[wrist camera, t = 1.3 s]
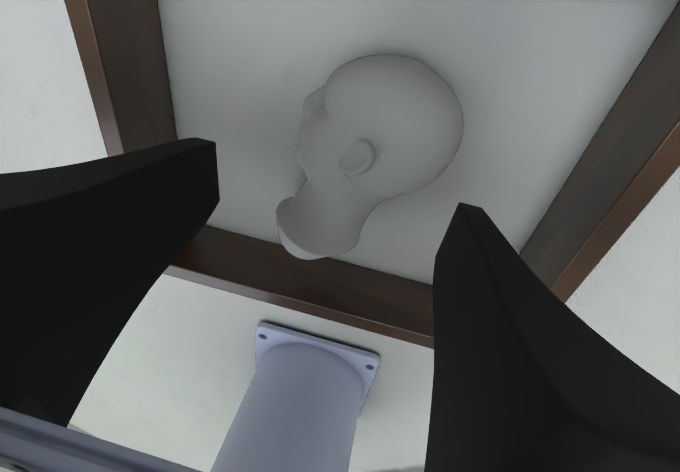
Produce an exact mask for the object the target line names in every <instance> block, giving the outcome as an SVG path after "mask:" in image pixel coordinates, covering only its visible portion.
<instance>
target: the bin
mask: <svg viewBox="0 0 680 472" xmlns="http://www.w3.org/2000/svg"><path fill="white" fill-rule="evenodd" d="M64 1H65V5H66V8H67V12H68V15H69V19H70V23H71V26H72V30H73V33H74V37H75V40H76V44H77V48H78V51H79V55H80V58H81V62H82V65H83V69H84V72H85V76H86V80H87V83H88V87H89V90H90V94H91V97H92V101H93V104H94V108H95V112H96V115H97V119H98V122H99V126H100V129H101V133H102V136H103V140H104V144H105V147H106V151H107V154H108V157H111V156H115V155H120V154H124V153H128V152H132V151H136V150H140V149H144V148H148V147H152V146H156V145H160V144H164V143H168V142H172V141H177V139H176V132H175V125H174V118H173V111H172V105H171V98H170V91H169V84H168V77H167V70H166V63H165V56H164V49H163V42H162V35H161V28H160V21H159V14H158V7H157V1H156V0H64ZM679 166H680V2H679V4H678V6H677V7H676V9H675V10H674V12H673V13H672V15H671V17H670V18H669V20H668V21H667V23H666V25H665V26H664V28H663V29H662V31H661V32H660V34H659V36H658V37H657V39H656V40H655V42H654V44H653V45H652V47H651V48H650V50H649V51H648V53H647V55H646V56H645V58H644V59H643V61H642V62H641V64H640V66H639V67H638V69H637V70H636V72H635V74H634V75H633V77H632V78H631V80H630V81H629V83H628V85H627V86H626V88H625V89H624V91H623V93H622V94H621V96H620V97H619V99H618V100H617V102H616V104H615V105H614V107H613V108H612V110H611V111H610V113H609V115H608V116H607V118H606V119H605V121H604V123H603V124H602V126H601V127H600V129H599V130H598V132H597V134H596V135H595V137H594V138H593V140H592V142H591V143H590V145H589V146H588V148H587V149H586V151H585V153H584V154H583V156H582V157H581V159H580V160H579V162H578V164H577V165H576V167H575V168H574V170H573V172H572V173H571V175H570V176H569V178H568V179H567V181H566V183H565V184H564V186H563V187H562V189H561V191H560V192H559V194H558V195H557V197H556V198H555V200H554V202H553V203H552V205H551V206H550V208H549V209H548V211H547V213H546V214H545V216H544V217H543V219H542V221H541V222H540V224H539V225H538V227H537V228H536V230H535V232H534V233H533V235H532V236H531V238H530V240H529V241H528V243H527V244H526V246H525V247H524V249H523V251H522V252H521V254H520V255H519V256H520V257H521V258H522V260H523V261H524V262H525V263H526V264H527V265H528V267H529V268H530V269H531V270H532V271H533V272H534V273H535V274H536V275H537V277H538V278H539V279H540V280H541V281H542V282H543V283H544V284H545V285H546V286H547V287H548V288H549V289H550V290H551V291H552V292H553V293H554V294H555V295H556V296H557V297H558V298H559V299H560V300H561V301H562V302H563V303H564V304H565V302H566V301H567V300H568V299H569V298H570V296H571V295H572V294H573V293H574V292H575V290H576V289H577V288H578V287H579V286H580V284H581V283H582V282H583V281H584V280H585V278H586V277H587V276H588V275H589V274H590V272H591V271H592V270H593V269H594V268H595V266H596V265H597V264H598V263H599V262H600V261H601V259H602V258H603V257H604V256H605V255H606V253H607V252H608V251H609V250H610V249H611V247H612V246H613V245H614V244H615V243H616V241H617V240H618V239H619V238H620V237H621V235H622V234H623V233H624V232H625V231H626V229H627V228H628V227H629V226H630V225H631V223H632V222H633V221H634V220H635V219H636V217H637V216H638V215H639V214H640V213H641V211H642V210H643V209H644V208H645V207H646V205H647V204H648V203H649V202H650V201H651V199H652V198H653V197H654V196H655V195H656V194H657V192H658V191H659V190H660V189H661V188H662V186H663V185H664V184H665V183H666V182H667V180H668V179H669V178H670V177H671V176H672V174H673V173H674V172H675V171H676V170H677V168H678V167H679ZM163 274H167V275H170V276H174V277H177V278H181V279H184V280H188V281H192V282H195V283H199V284H202V285H206V286H209V287H213V288H217V289H220V290H224V291H227V292H231V293H235V294H238V295H242V296H245V297H249V298H252V299H256V300H260V301H263V302H267V303H270V304H274V305H278V306H281V307H285V308H288V309H292V310H295V311H299V312H303V313H306V314H310V315H313V316H317V317H320V318H324V319H328V320H331V321H335V322H338V323H342V324H346V325H349V326H353V327H356V328H360V329H363V330H367V331H371V332H374V333H378V334H381V335H385V336H389V337H392V338H396V339H399V340H403V341H406V342H410V343H414V344H417V345H421V346H424V347H428V348H431V349H434V326H433V293H432V286H431V285H427V284H423V283H419V282H416V281H412V280H408V279H404V278H401V277H397V276H393V275H389V274H385V273H382V272H378V271H374V270H370V269H367V268H363V267H359V266H355V265H352V264H348V263H344V262H340V261H337V260H333V259H329V258H325V257H323V258H318V259H313V260H305V259H300V258H297V257H295V256H294V255H292V254H291V253H289V252H288V251H287V250H286V249H285V247H284V246H280V245H276V244H273V243H269V242H265V241H261V240H258V239H254V238H250V237H246V236H242V235H239V234H235V233H231V232H227V231H224V230H220V229H216V228H212V227H209V226H205V225H204V226H203V227H202V229H201V230H200V231H199V232H198V233H197V234H196V236H195V237H194V238H193V239H192V240H191V241H190V243H189V244H188V245H187V246H186V247H185V248H184V249H183V251H182V252H181V253H180V254H179V255H178V256H177V257H176V259H175V260H174V261H173V262H172V263H171V264H170V265H169V267H168V268H167V269H166V270H165V271H164V272H163Z"/></svg>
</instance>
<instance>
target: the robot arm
mask: <svg viewBox="0 0 680 472" xmlns="http://www.w3.org/2000/svg"><path fill="white" fill-rule="evenodd" d="M219 201H220V197H219V184H218V170H217V157H216V143H215V142H213V141H208V140H204V139H200V138H187V139H182V140H177V141H172V142H168V143H164V144H160V145H156V146H152V147H148V148H144V149H140V150H136V151H132V152H128V153H124V154H120V155H115V156H111V157H106V158H102V159H97V160H93V161H88V162H84V163H78V164H73V165H67V166H62V167H55V168H48V169H41V170H34V171H26V172H15V173H5V174H0V467H3V468H6V469H9V470H12V471H15V472H202V471H199V470H195V469H192V468H189V467H186V466H183V465H180V464H177V463H174V462H171V461H167V460H164V459H161V458H158V457H155V456H152V455H149V454H146V453H143V452H139V451H136V450H133V449H130V448H127V447H124V446H121V445H118V444H115V443H112V442H108V441H105V440H102V439H99V438H96V437H92V436H90V435H87V434H84V433H80V432H77V431H74V430H71V429H68V428H66V427H67V425H68V423H69V421H70V419H71V417H72V416H73V414H74V412H75V410H76V408H77V406H78V405H79V403H80V401H81V399H82V397H83V395H84V393H85V392H86V390H87V388H88V386H89V384H90V382H91V381H92V379H93V377H94V375H95V374H96V372H97V370H98V369H99V367H100V365H101V364H102V362H103V360H104V359H105V357H106V355H107V353H108V352H109V350H110V348H111V347H112V345H113V343H114V342H115V340H116V339H117V337H118V336H119V334H120V333H121V331H122V329H123V328H124V326H125V325H126V323H127V322H128V320H129V319H130V317H131V315H132V314H133V313H134V311H135V310H136V308H137V307H138V305H139V304H140V302H141V301H142V300H143V298H144V297H145V295H146V294H147V292H148V291H149V289H150V288H151V287H152V286H153V284H154V283H155V282H156V281H157V279H158V278H159V277H160V276H161V274H162V273H163V272H164V271H165V270H166V269H167V268H168V267H169V265H170V264H171V263H172V262H173V261H174V260H175V259H176V257H177V256H178V255H179V254H180V253H181V252H182V251H183V249H184V248H185V247H186V246H187V245H188V244H189V243H190V241H191V240H192V239H193V238H194V237H195V236H196V234H197V233H198V232H199V231H200V230H201V229H202V227H203V226H204V225H205V223H206V222H207V220H208V219H209V217H210V216H211V214H212V213H213V211H214V209H215V208H216V206H217V204H218V202H219ZM432 293H433V326H434V377H433V390H432V403H431V413H430V424H429V434H428V444H427V452H426V461H425V470H424V472H680V395H679V394H678V393H676V392H675V391H673V390H672V389H671V388H669V387H668V386H666V385H665V384H663V383H662V382H661V381H659V380H658V379H656V378H655V377H654V376H652V375H651V374H649V373H648V372H647V371H645V370H644V369H642V368H641V367H640V366H638V365H637V364H636V363H634V362H633V361H632V360H630V359H629V358H628V357H626V356H625V355H624V354H622V353H621V352H620V351H619V350H617V349H616V348H615V347H614V346H612V345H611V344H610V343H609V342H608V341H606V340H605V339H604V338H603V337H601V336H600V335H599V334H598V333H596V332H595V331H594V330H593V329H592V328H590V327H589V326H588V325H587V324H586V323H585V322H584V321H582V320H581V319H580V318H579V317H578V316H577V315H576V314H575V313H574V312H572V311H571V310H570V309H569V308H568V307H567V306H566V305H565V304H564V303H563V302H562V301H561V300H560V299H559V298H558V297H557V296H556V295H555V294H554V293H553V292H552V291H551V290H550V289H549V288H548V287H547V286H546V285H545V284H544V283H543V282H542V281H541V280H540V279H539V278H538V277H537V275H536V274H535V273H534V272H533V271H532V270H531V269H530V268H529V267H528V265H527V264H526V263H525V262H524V261H523V260H522V258H521V257H520V256H519V255H518V253H517V252H516V251H515V250H514V249H513V247H512V246H511V245H510V244H509V242H508V241H507V240H506V238H505V237H504V236H503V234H502V233H501V232H500V231H499V229H498V228H497V227H496V225H495V224H494V223H493V221H492V220H491V219H490V217H489V216H488V215H487V214H486V213H485V211H484V210H483V209H482V208H481V207H476V206H472V205H468V204H464V203H460V202H459V204H458V206H457V208H456V211H455V213H454V215H453V218H452V220H451V222H450V225H449V227H448V229H447V231H446V234H445V236H444V238H443V241H442V243H441V245H440V247H439V250H438V252H437V254H436V257H435V266H434V274H433V284H432ZM379 363H380V358H379V356H378V355H376V354H374V353H371V352H367V351H364V350H360V349H357V348H353V347H350V346H346V345H342V344H339V343H335V342H332V341H328V340H325V339H321V338H318V337H314V336H311V335H307V334H304V333H300V332H297V331H293V330H290V329H286V328H283V327H279V326H276V325H272V324H269V323H264V322H261V323H259V324H258V325H257V327H256V371H255V373H254V375H253V378H252V380H251V382H250V384H249V386H248V389H247V391H246V393H245V395H244V398H243V400H242V402H241V404H240V406H239V409H238V411H237V413H236V415H235V418H234V420H233V422H232V424H231V426H230V429H229V431H228V433H227V435H226V437H225V440H224V442H223V444H222V446H221V449H220V451H219V453H218V455H217V457H216V460H215V462H214V464H213V466H212V469H211V471H210V472H348V468H349V462H350V457H351V451H352V445H353V440H354V434H355V429H356V423H357V418H358V416H359V413H360V411H361V408H362V406H363V404H364V401H365V399H366V396H367V394H368V391H369V389H370V386H371V384H372V381H373V379H374V376H375V374H376V371H377V369H378V366H379Z"/></svg>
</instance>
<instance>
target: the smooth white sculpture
mask: <svg viewBox="0 0 680 472" xmlns="http://www.w3.org/2000/svg"><path fill="white" fill-rule="evenodd" d="M303 113H304V116H305V120H304V121H303V123H302V125H301V136H300V140H299V144H298V145H297V147H296V150H295V155H296V158H297V161H298V163H299V164H300V166H301V168H302V169H303V171H304V172H305V174H306V176H307V180H306V181H305V183H304V184H303V185H302V187H301V188H300V189H299V191H298V192H297V193H296V195H295V196H294V197H290V198H287V199H284V200H283V201H281V202H280V203H279V205H278V206H277V210H276V216H277V224H278V232H279V237H280V240H281V242H282V244H283V246H284V247H285V249H286V250H287V251H288V252H289V253H291V254H292V255H294V256H295V257H297V258H300V259H305V260H313V259H318V258H323V257H328V256H333V255H338V254H342V253H345V252H347V251H349V250H351V249H352V248H353V247H354V246H355V245H356V244H357V242H358V240H359V236H360V232H361V229H362V226H363V224H364V222H365V220H366V218H367V217H368V215H369V214H370V212H371V211H372V210H373V209H374V208H375V207H376V206H377V205H378V204H379V203H380V202H382V201H383V200H385V199H387V198H390V197H393V196H397V195H401V194H405V193H408V192H411V191H414V190H416V189H418V188H420V187H422V186H424V185H426V184H427V183H429V182H431V181H432V180H433V179H435V178H436V177H437V176H438V175H440V174H441V173H442V172H443V171H444V170H445V168H446V167H447V166H448V165H449V163H450V162H451V161H452V159H453V157H454V156H455V154H456V152H457V150H458V148H459V145H460V142H461V139H462V135H463V113H462V110H461V106H460V104H459V101H458V99H457V97H456V95H455V93H454V92H453V90H452V89H451V88H450V86H449V85H448V84H447V83H446V82H445V81H444V80H443V79H442V78H441V77H440V76H439V75H438V74H437V73H436V72H435V71H434V70H432V69H431V68H430V67H428V66H427V65H425V64H424V63H422V62H420V61H418V60H416V59H413V58H410V57H405V56H391V55H374V56H366V57H361V58H358V59H355V60H352V61H350V62H348V63H346V64H344V65H342V66H340V67H339V68H337V69H336V70H335V71H334V72H333V73H332V74H331V75H330V77H329V78H328V80H327V83H326V85H324V86H322V87H321V88H319V89H318V90H316V91H315V92H313V93H312V94H310V95H309V96H308V97H307V98H306V99H305V101H304V103H303Z"/></svg>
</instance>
